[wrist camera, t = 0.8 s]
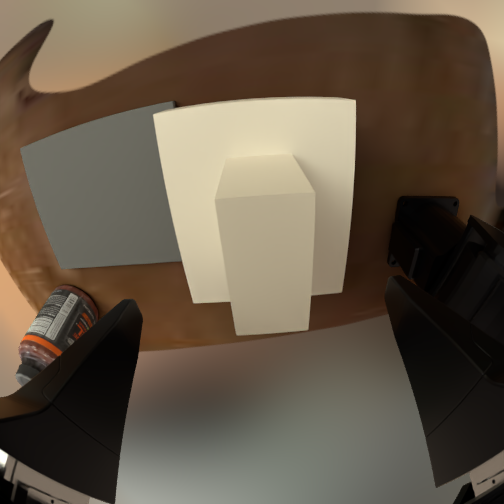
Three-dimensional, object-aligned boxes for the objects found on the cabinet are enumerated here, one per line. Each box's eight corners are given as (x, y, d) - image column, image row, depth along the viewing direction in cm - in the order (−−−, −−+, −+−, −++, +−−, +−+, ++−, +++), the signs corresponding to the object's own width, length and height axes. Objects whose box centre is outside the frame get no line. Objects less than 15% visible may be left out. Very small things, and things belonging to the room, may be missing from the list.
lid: (339, 97, 13) (411, 112, 7) (332, 268, 19) (364, 356, 13) (167, 109, 13) (103, 133, 7) (198, 278, 19) (181, 369, 13)
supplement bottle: (106, 327, 28) (72, 415, 18) (64, 319, 27) (26, 397, 18) (92, 285, 24) (43, 380, 15) (47, 278, 24) (-5, 360, 14)
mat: (174, 100, 16) (172, 101, 16) (200, 255, 23) (199, 259, 22) (24, 146, 16) (20, 148, 16) (64, 265, 23) (61, 269, 22)
